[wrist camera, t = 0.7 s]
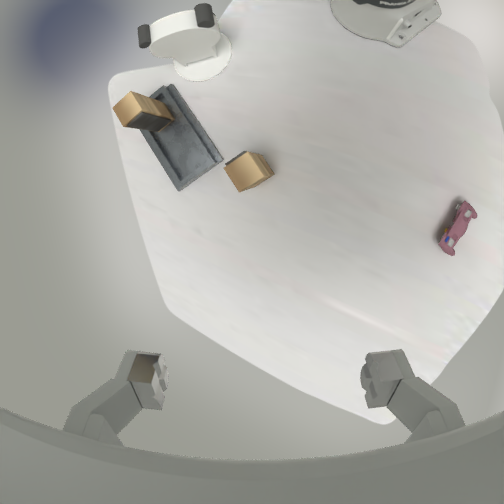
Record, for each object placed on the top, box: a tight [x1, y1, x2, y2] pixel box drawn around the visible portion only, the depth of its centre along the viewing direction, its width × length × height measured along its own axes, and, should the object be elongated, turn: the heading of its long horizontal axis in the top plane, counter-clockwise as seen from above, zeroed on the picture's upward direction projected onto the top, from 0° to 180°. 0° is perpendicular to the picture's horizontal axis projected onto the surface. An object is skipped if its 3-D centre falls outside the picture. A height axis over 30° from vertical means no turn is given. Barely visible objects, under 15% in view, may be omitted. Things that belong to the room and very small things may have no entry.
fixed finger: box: [113, 91, 175, 132], centre depth 45 cm, size 4×4×12 cm
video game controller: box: [438, 201, 477, 256], centre depth 45 cm, size 10×5×7 cm, turn 151°
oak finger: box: [224, 151, 274, 192], centre depth 46 cm, size 4×4×12 cm
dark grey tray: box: [140, 84, 224, 191], centre depth 51 cm, size 10×18×2 cm, turn 33°
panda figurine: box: [138, 3, 232, 82], centre depth 40 cm, size 12×11×15 cm
